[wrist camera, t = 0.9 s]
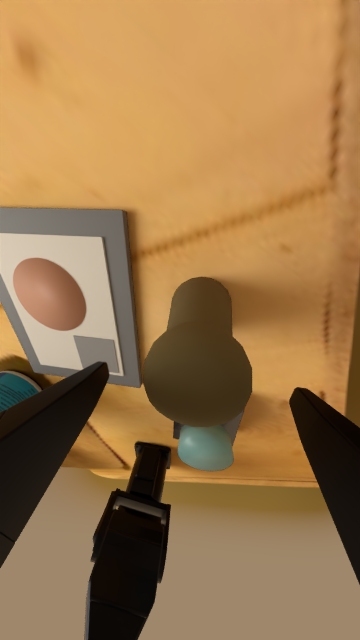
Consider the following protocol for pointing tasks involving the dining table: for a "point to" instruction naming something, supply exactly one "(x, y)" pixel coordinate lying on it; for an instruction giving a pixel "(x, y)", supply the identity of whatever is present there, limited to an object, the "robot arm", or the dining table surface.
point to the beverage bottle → (15, 388)
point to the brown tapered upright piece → (198, 359)
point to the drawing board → (70, 290)
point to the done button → (205, 447)
